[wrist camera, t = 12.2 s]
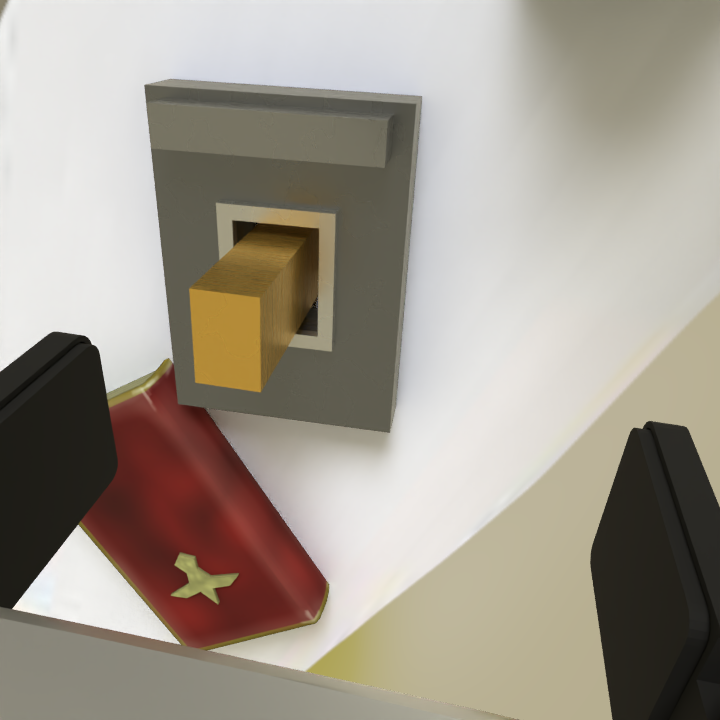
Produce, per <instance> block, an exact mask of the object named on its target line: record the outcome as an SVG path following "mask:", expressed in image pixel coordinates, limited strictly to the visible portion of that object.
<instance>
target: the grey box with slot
mask: <svg viewBox="0 0 720 720" xmlns="http://www.w3.org/2000/svg"><path fill="white" fill-rule="evenodd" d="M144 86H145V95H146V105H147V114H148V124H149V133H150V143H151V152H152V162H153V171H154V181H155V190H156V200H157V209H158V219H159V228H160V238H161V247H162V257H163V266H164V276H165V285H166V295H167V304H168V314H169V323H170V333H171V342H172V352H173V361H174V371H175V380H176V390H177V399H178V404H181V405H189V406H196V407H203V408H211V409H218V410H226V411H233V412H240V413H248V414H255V415H263V416H270V417H277V418H285V419H292V420H300V421H307V422H314V423H322V424H329V425H337V426H344V427H351V428H359V429H366V430H374V431H381V432H388V433H390V429H391V425H392V421H393V416H394V412H395V408H396V399H397V388H398V376H399V364H400V352H401V340H402V328H403V316H404V305H405V293H406V281H407V269H408V257H409V245H410V233H411V222H412V210H413V198H414V186H415V174H416V162H417V150H418V139H419V127H420V115H421V103H422V96H411V95H397V94H382V93H368V92H353V91H338V90H324V89H309V88H295V87H280V86H266V85H251V84H236V83H222V82H207V81H193V80H178V79H169V80H164V81H160V82H155V83H151V84H146V85H144ZM255 222H257V223H268V224H278V225H288V226H299V227H309V228H319V280H318V309H317V308H310V310H309V312H308V313H307V315H306V317H305V318H304V320H303V322H302V324H301V325H300V327H299V329H298V330H297V332H296V334H295V335H294V337H293V339H292V340H291V342H290V344H289V346H288V347H287V349H286V351H285V352H284V354H283V356H282V357H281V359H280V361H279V363H278V364H277V366H276V368H275V369H274V371H273V373H272V374H271V376H270V378H269V379H268V381H267V383H266V385H265V386H264V388H263V390H262V391H261V392H255V391H248V390H241V389H234V388H228V387H221V386H214V385H208V384H201V383H195V370H194V354H193V339H192V324H191V308H190V293H189V288H190V287H191V286H192V285H193V284H194V283H196V282H197V281H198V280H199V279H200V278H201V277H202V276H203V275H204V274H205V273H206V272H207V271H208V270H209V269H210V268H212V267H213V266H214V265H215V264H216V263H217V262H218V261H219V260H220V259H221V258H222V257H223V256H224V255H225V254H227V253H228V252H229V251H230V250H231V249H232V248H233V247H234V246H235V245H236V244H237V243H238V242H239V241H240V240H241V239H243V238H244V237H245V236H246V235H247V234H248V233H249V232H250V231H251V230H252V229H253V228H254V227H255Z"/></svg>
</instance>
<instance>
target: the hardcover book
mask: <svg viewBox="0 0 720 720" xmlns="http://www.w3.org/2000/svg"><path fill="white" fill-rule="evenodd" d="M107 400H108V406H109V411H110V417H111V423H112V429H113V435H114V440H115V446H116V452H117V458H118V468H117V472H116V475H115V477H114V479H113V480H112V482H111V483H110V484H109V486H108V487H107V488H106V489H105V491H104V492H103V493H102V495H101V496H100V497H99V498H98V500H97V501H96V502H95V503H94V505H93V506H92V507H91V509H90V510H89V511H88V512H87V514H86V515H85V516H84V518H83V519H82V520H81V521H80V523H79V524H78V525H79V526H80V527H81V528H82V529H83V530H84V532H85V533H86V534H87V535H88V536H89V537H90V539H91V540H92V541H93V542H94V543H95V545H96V546H97V547H98V548H99V549H100V550H101V552H102V553H103V554H104V555H105V556H106V557H107V559H108V560H109V561H110V562H111V563H112V564H113V566H114V567H115V568H116V569H117V570H118V571H119V573H120V574H121V575H122V576H123V577H124V578H125V580H126V581H127V582H128V583H129V584H130V585H131V587H132V588H133V589H134V590H135V591H136V592H137V594H138V595H139V596H140V597H141V598H142V599H143V601H144V602H145V603H146V604H147V605H148V606H149V608H150V609H151V610H152V611H153V612H154V613H155V615H156V616H157V617H158V618H159V619H160V620H161V622H162V623H163V624H164V625H165V626H166V627H167V629H168V630H169V631H170V632H171V633H172V634H173V636H174V637H175V638H176V639H177V640H178V641H179V643H180V644H181V645H183V646H188V647H193V648H197V649H202V650H211V649H215V648H219V647H223V646H227V645H231V644H235V643H239V642H243V641H247V640H251V639H255V638H259V637H263V636H267V635H271V634H275V633H279V632H283V631H287V630H291V629H295V628H299V627H303V626H307V625H311V624H315V623H316V622H317V621H318V620H319V619H320V617H321V614H322V612H323V610H324V607H325V604H326V601H327V597H328V593H329V584H328V582H327V581H326V579H325V578H324V577H323V575H322V574H321V572H320V571H319V569H318V568H317V567H316V565H315V564H314V562H313V561H312V560H311V558H310V557H309V555H308V554H307V553H306V551H305V550H304V548H303V547H302V545H301V544H300V543H299V541H298V540H297V538H296V537H295V536H294V534H293V533H292V531H291V530H290V529H289V527H288V526H287V524H286V523H285V521H284V520H283V519H282V517H281V516H280V514H279V513H278V512H277V510H276V509H275V507H274V506H273V505H272V503H271V502H270V500H269V499H268V497H267V496H266V495H265V493H264V492H263V490H262V489H261V488H260V486H259V485H258V483H257V482H256V480H255V479H254V478H253V476H252V475H251V473H250V472H249V471H248V469H247V468H246V466H245V465H244V464H243V462H242V461H241V459H240V458H239V456H238V455H237V454H236V452H235V451H234V449H233V448H232V447H231V445H230V444H229V442H228V441H227V440H226V438H225V437H224V435H223V434H222V432H221V431H220V430H219V428H218V427H217V425H216V424H215V423H214V421H213V420H212V418H211V417H210V415H209V414H208V413H207V411H206V410H205V408H203V407H196V406H189V405H181V404H178V399H177V390H176V380H175V371H174V365H173V363H172V362H171V360H170V359H169V358H168V359H166V360H164V361H163V363H162V364H161V365H160V367H159V368H158V369H157V370H156V371H154V372H152V373H150V374H148V375H146V376H143V377H141V378H139V379H137V380H135V381H133V382H130V383H128V384H126V385H124V386H122V387H120V388H117V389H115V390H113V391H111V392H109V393H107Z"/></svg>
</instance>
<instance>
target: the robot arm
mask: <svg viewBox="0 0 720 720" xmlns="http://www.w3.org/2000/svg"><path fill="white" fill-rule="evenodd" d="M117 468H118V458H117V452H116V446H115V440H114V435H113V429H112V423H111V417H110V411H109V406H108V400H107V394H106V388H105V383H104V377H103V371H102V365H101V359H100V354H99V350H98V349H97V347H96V346H94V345H92V344H91V341H90V340H89V339H88V338H87V337H86V336H82V335H76V334H69V333H62V332H52V333H50V334H48V335H47V336H46V337H44V338H43V339H42V340H41V341H39V342H38V343H37V344H35V345H34V346H33V347H32V348H30V349H29V350H28V351H26V352H25V353H24V354H23V355H21V356H20V357H19V358H18V359H16V360H15V361H14V362H12V363H11V364H10V365H9V366H7V367H6V368H5V369H3V370H2V371H1V372H0V720H518V719H514V718H510V717H505V716H501V715H497V714H493V713H489V712H484V711H480V710H476V709H471V708H467V707H462V706H458V705H453V704H449V703H444V702H440V701H435V700H431V699H426V698H422V697H417V696H413V695H408V694H404V693H399V692H395V691H390V690H385V689H381V688H376V687H372V686H367V685H362V684H358V683H354V682H349V681H345V680H340V679H335V678H331V677H326V676H322V675H317V674H313V673H309V672H304V671H299V670H295V669H290V668H285V667H281V666H276V665H272V664H267V663H262V662H258V661H253V660H248V659H244V658H239V657H234V656H230V655H225V654H221V653H216V652H211V651H207V650H202V649H197V648H193V647H188V646H183V645H179V644H174V643H169V642H165V641H160V640H155V639H151V638H146V637H141V636H137V635H132V634H127V633H123V632H118V631H113V630H108V629H104V628H99V627H94V626H89V625H84V624H80V623H75V622H70V621H65V620H61V619H56V618H51V617H46V616H41V615H37V614H32V613H27V612H22V611H17V610H13V609H12V608H13V607H14V606H15V604H16V603H17V602H18V601H19V599H20V598H21V597H22V595H23V594H24V593H25V592H26V590H27V589H28V588H29V587H30V585H31V584H32V583H33V581H34V580H35V579H36V578H37V576H38V575H39V574H40V572H41V571H42V570H43V569H44V567H45V566H46V565H47V564H48V562H49V561H50V560H51V558H52V557H53V556H54V555H55V553H56V552H57V551H58V549H59V548H60V547H61V546H62V544H63V543H64V542H65V541H66V539H67V538H68V537H69V535H70V534H71V533H72V532H73V530H74V529H75V528H76V526H77V525H78V524H79V523H80V521H81V520H82V519H83V518H84V516H85V515H86V514H87V512H88V511H89V510H90V509H91V507H92V506H93V505H94V503H95V502H96V501H97V500H98V498H99V497H100V496H101V495H102V493H103V492H104V491H105V489H106V488H107V487H108V486H109V484H110V483H111V482H112V480H113V479H114V477H115V475H116V472H117ZM590 564H591V572H592V580H593V587H594V593H595V601H596V608H597V614H598V621H599V628H600V635H601V642H602V649H603V656H604V663H605V670H606V677H607V684H608V691H609V697H610V705H611V712H612V719H613V720H720V507H719V504H718V502H717V499H716V497H715V495H714V492H713V490H712V487H711V485H710V482H709V480H708V477H707V475H706V472H705V470H704V467H703V465H702V462H701V460H700V457H699V455H698V453H697V450H696V448H695V445H694V442H693V440H692V438H691V435H690V433H689V430H688V429H687V427H684V426H679V425H672V424H665V423H659V422H653V421H648V422H646V424H645V425H644V427H643V429H639V428H633V429H632V431H631V432H630V435H629V437H628V441H627V443H626V446H625V449H624V452H623V455H622V458H621V461H620V464H619V467H618V471H617V473H616V476H615V479H614V482H613V485H612V488H611V491H610V494H609V497H608V500H607V503H606V506H605V509H604V512H603V515H602V518H601V521H600V524H599V527H598V530H597V533H596V536H595V539H594V542H593V545H592V550H591V561H590Z"/></svg>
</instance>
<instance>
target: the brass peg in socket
mask: <svg viewBox="0 0 720 720" xmlns="http://www.w3.org/2000/svg"><path fill="white" fill-rule="evenodd" d="M318 270H319V228H309V227H299V226H288V225H278V224H268V223H259V224H257V225H256V226H255V227H254V228H253V229H252V230H251V231H250V232H249V233H248V234H247V235H246V236H245V237H244V238H243V239H241V240H240V241H239V242H238V243H237V244H236V245H235V246H234V247H233V248H232V249H231V250H230V251H229V252H228V253H227V254H225V255H224V256H223V257H222V258H221V259H220V260H219V261H218V262H217V263H216V264H215V265H214V266H213V267H212V268H210V269H209V270H208V271H207V272H206V273H205V274H204V275H203V276H202V277H201V278H200V279H199V280H198V281H197V282H196V283H194V284H193V285H192V286H191V287H190V288H189V293H190V308H191V324H192V339H193V354H194V370H195V383H201V384H208V385H214V386H221V387H228V388H234V389H241V390H248V391H255V392H261V391H262V390H263V388H264V386H265V385H266V383H267V381H268V379H269V378H270V376H271V374H272V373H273V371H274V369H275V368H276V366H277V364H278V363H279V361H280V359H281V357H282V356H283V354H284V352H285V351H286V349H287V347H288V346H289V344H290V342H291V340H292V339H293V337H294V335H295V334H296V332H297V330H298V329H299V327H300V325H301V324H302V322H303V320H304V318H305V317H306V315H307V313H308V312H309V310H310V308H311V307H312V305H313V303H314V302H315V300H316V298H317V296H318Z"/></svg>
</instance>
